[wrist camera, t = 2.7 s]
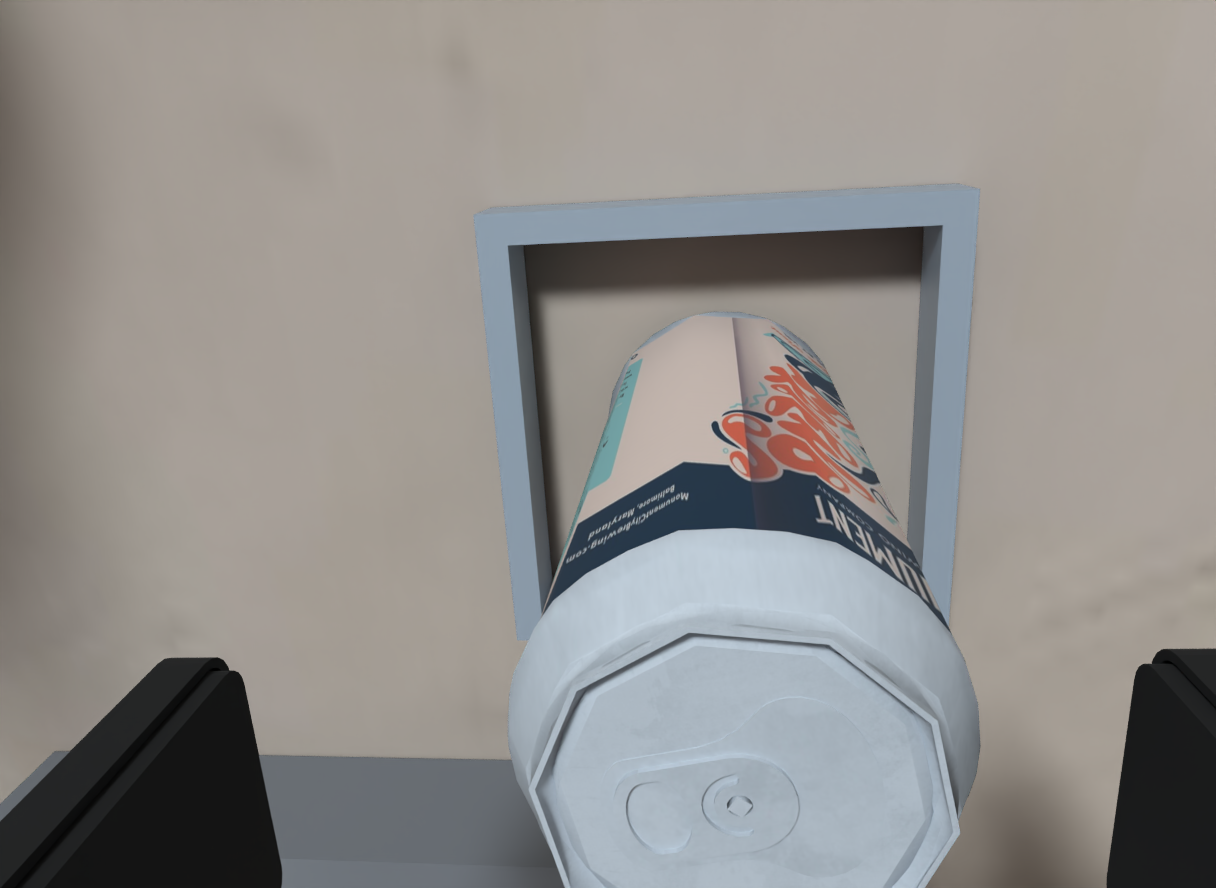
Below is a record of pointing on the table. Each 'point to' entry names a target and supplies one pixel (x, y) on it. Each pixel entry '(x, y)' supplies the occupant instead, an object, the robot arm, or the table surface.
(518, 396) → the hollow square frame
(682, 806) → the beer can
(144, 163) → the table surface
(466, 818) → the two-slot holder block
